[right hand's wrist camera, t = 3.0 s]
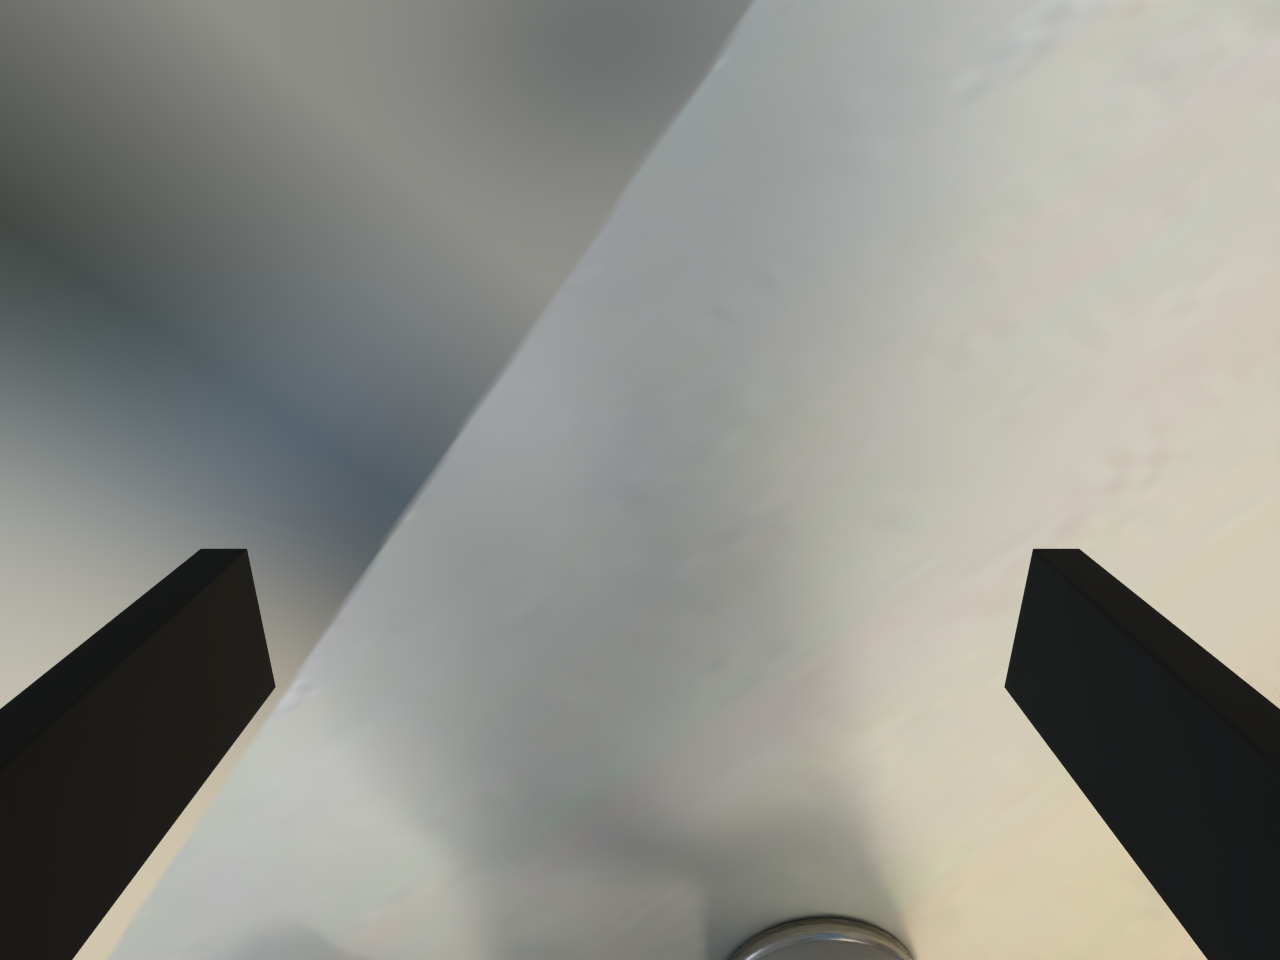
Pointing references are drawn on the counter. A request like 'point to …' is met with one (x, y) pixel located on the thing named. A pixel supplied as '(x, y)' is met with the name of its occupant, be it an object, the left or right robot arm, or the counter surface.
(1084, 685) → the right robot arm
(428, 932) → the counter surface
